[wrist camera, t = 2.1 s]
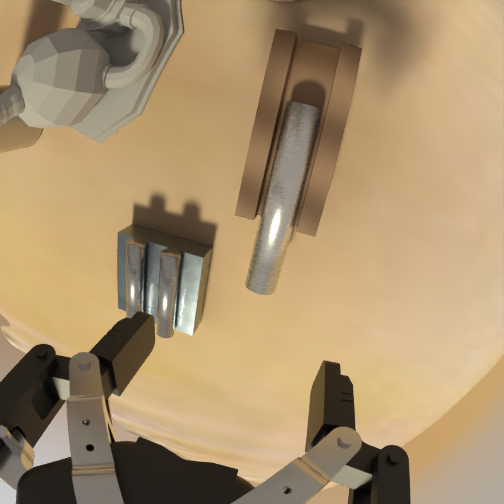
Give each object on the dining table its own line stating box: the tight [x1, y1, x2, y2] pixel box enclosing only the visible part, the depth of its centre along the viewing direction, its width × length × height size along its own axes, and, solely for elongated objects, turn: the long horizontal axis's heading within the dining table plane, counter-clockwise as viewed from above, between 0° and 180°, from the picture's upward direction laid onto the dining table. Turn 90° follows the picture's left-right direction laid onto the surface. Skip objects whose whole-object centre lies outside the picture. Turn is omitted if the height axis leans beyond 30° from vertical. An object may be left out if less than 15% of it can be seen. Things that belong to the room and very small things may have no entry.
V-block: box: [117, 224, 213, 338], centre depth 32 cm, size 10×10×5 cm
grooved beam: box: [235, 29, 362, 237], centre depth 24 cm, size 16×7×5 cm, turn 168°
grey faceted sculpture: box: [0, 0, 184, 143], centre depth 19 cm, size 20×15×15 cm
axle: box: [245, 101, 322, 295], centre depth 24 cm, size 16×3×3 cm, turn 168°
